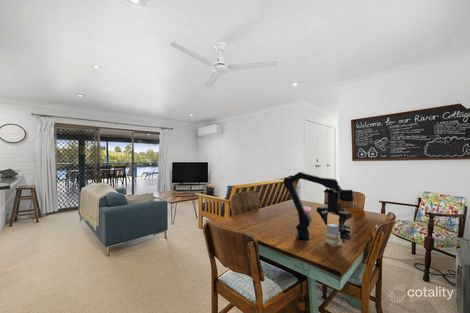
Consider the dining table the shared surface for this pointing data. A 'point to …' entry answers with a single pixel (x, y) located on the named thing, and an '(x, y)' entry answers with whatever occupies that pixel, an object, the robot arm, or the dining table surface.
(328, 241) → the tower base
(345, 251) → the dining table surface
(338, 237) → the tower top
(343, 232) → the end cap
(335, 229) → the blue block
